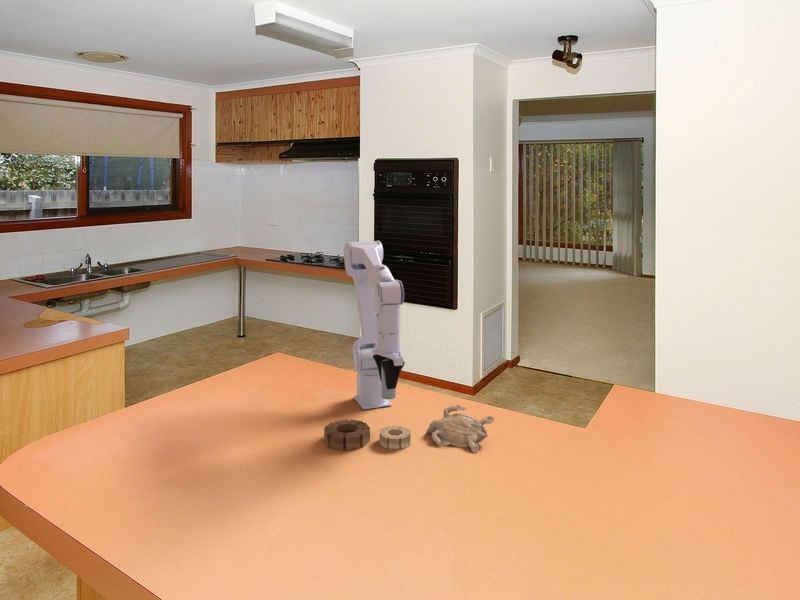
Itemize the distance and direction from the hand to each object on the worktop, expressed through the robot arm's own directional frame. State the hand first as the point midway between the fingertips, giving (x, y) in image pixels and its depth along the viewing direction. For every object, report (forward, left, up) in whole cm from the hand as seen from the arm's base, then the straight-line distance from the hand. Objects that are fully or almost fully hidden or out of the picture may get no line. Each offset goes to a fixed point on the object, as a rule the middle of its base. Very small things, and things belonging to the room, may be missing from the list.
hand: (388, 385), depth 145 cm
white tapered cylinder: (0, 0, -3) cm, 3 cm away
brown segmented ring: (+5, -12, -10) cm, 16 cm away
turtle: (+14, +12, -10) cm, 22 cm away
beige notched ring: (+10, -2, -10) cm, 14 cm away
